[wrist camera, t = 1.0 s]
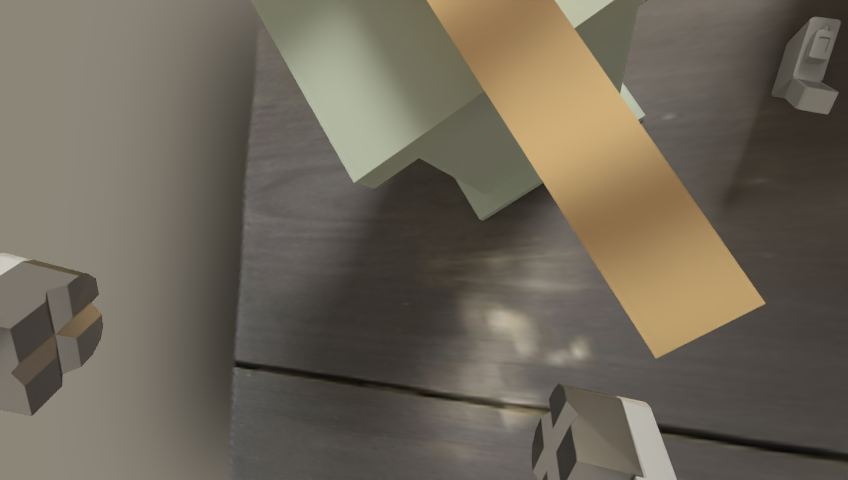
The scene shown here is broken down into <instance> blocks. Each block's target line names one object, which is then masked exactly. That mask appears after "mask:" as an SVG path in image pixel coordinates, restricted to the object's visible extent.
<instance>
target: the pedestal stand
mask: <svg viewBox="0 0 848 480" xmlns="http://www.w3.org/2000/svg"><path fill="white" fill-rule="evenodd" d="M251 1H252V3H253V5H254V7H255V9H256V10H257V12H258V14H259V16H260V17H261V19H262V21H263V23H264V25H265V26H266V28H267V30H268V32H269V33H270V35H271V37H272V39H273V41H274V42H275V44H276V46H277V48H278V49H279V51H280V53H281V55H282V56H283V58H284V60H285V62H286V64H287V65H288V67H289V69H290V71H291V72H292V74H293V76H294V78H295V80H296V81H297V83H298V85H299V87H300V88H301V90H302V92H303V94H304V96H305V97H306V99H307V101H308V103H309V104H310V106H311V108H312V110H313V111H314V113H315V115H316V117H317V119H318V120H319V122H320V124H321V126H322V127H323V129H324V131H325V133H326V135H327V136H328V138H329V140H330V142H331V143H332V145H333V147H334V149H335V151H336V152H337V154H338V156H339V158H340V159H341V161H342V163H343V165H344V166H345V168H346V170H347V172H348V174H349V175H350V177H351V179H352V181H353V182H354V183H356V184H359V185H363V186H366V187H369V188H373V189H375V188H376V187H378V186H379V185H381V184H382V183H383V182H385V181H386V180H388V179H389V178H391V177H392V176H394V175H395V174H397V173H398V172H399V171H401V170H402V169H404V168H405V167H407V166H408V165H410V164H411V163H412V162H414V161H415V160H417V159H418V158H420V159H422V160H423V161H425V162H427V163H429V164H431V165H432V166H434V167H436V168H438V169H440V170H442V171H443V172H445V173H447V174H449V175H451V176H452V177H454V178H455V180H456V181H457V183H458V185H459V186H460V188H461V190H462V191H463V193H464V194H465V196H466V198H467V199H468V201H469V203H470V204H471V206H472V208H473V209H474V211H475V213H476V214H477V216H478V218H479V219H480V220H482V221H484V220H485V219H487V218H489V217H490V216H492V215H493V214H495V213H496V212H498V211H500V210H501V209H503V208H504V207H506V206H508V205H509V204H511V203H512V202H514V201H516V200H517V199H519V198H520V197H522V196H523V195H525V194H527V193H528V192H530V191H531V190H533V189H535V188H536V187H538V186H539V185H541V184H543V181H542V180H541V178H540V177H539V175H538V173H537V172H536V170H535V169H534V167H533V166H532V164H531V163H530V161H529V159H528V158H527V156H526V155H525V153H524V152H523V150H522V148H521V147H520V145H519V144H518V142H517V141H516V139H515V138H514V136H513V134H512V133H511V131H510V130H509V128H508V127H507V125H506V123H505V122H504V120H503V119H502V117H501V116H500V114H499V113H498V111H497V109H496V108H495V106H494V105H493V103H492V102H491V100H490V98H489V97H488V95H487V94H486V92H485V91H484V89H483V88H482V86H481V84H480V83H479V81H478V80H477V78H476V77H475V75H474V73H473V72H472V70H471V69H470V67H469V66H468V64H467V63H466V61H465V59H464V58H463V56H462V55H461V53H460V52H459V50H458V49H457V47H456V45H455V44H454V42H453V41H452V39H451V38H450V36H449V34H448V33H447V31H446V30H445V28H444V27H443V25H442V24H441V22H440V20H439V19H438V17H437V16H436V14H435V13H434V11H433V9H432V8H431V6H430V5H429V3H428V2H427V0H251ZM555 1H556V3H557V4H558V6H559V7H560V9H561V10H562V12H563V13H564V14H565V16H566V17H567V19H568V20H569V22H570V23H571V24H572V26H573V27H574V29H575V30H576V32H577V33H578V35H579V36H580V37H581V39H582V40H583V42H584V43H585V45H586V46H587V47H588V49H589V50H590V52H591V53H592V55H593V56H594V58H595V59H596V60H597V62H598V63H599V65H600V66H601V68H602V69H603V70H604V72H605V73H606V75H607V76H608V78H609V79H610V81H611V82H612V83H613V85H614V86H615V88H616V89H617V91H618V92H619V93H620V95H621V96H622V98H623V99H624V101H625V102H626V104H627V105H628V106H629V108H630V109H631V111H632V112H633V114H634V115H635V116H636V118H637V119H638V121H639V122H641V121H643V120H644V117H645V114H644V113H643V111H642V110H641V108H640V107H639V105H638V104H637V103H636V101H635V100H634V98H633V97H632V95H631V94H630V93H629V91H628V90H627V88H626V87H625V85H624V84H623V83H622V82H623V77H624V73H625V68H626V63H627V58H628V53H629V48H630V43H631V39H632V34H633V29H634V24H635V19H636V14H637V10H638V7H639V6H640V5H642V4H643V3H644V2H646V1H647V0H555Z"/></svg>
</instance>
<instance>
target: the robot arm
mask: <svg viewBox="0 0 848 480" xmlns="http://www.w3.org/2000/svg"><path fill="white" fill-rule="evenodd" d="M98 295H99V293H98V287H97V282H96V278H94V277H92V276H91V275H89V274H87V273H82V272H79V271H75V270H71V269H67V268H63V267H60V266H55V265H52V264H48V263H44V262H40V261H36V260H29V259H26V258H22V257H18V256H14V255H11V254H7V253H1V254H0V410H4V411H9V412H14V413H19V414H24V415H29V416H32V415H33V414H34V413H35V412H36V411H37V410H38V409H39V408H40V407H41V406H43V404H44V403H46V402H47V400H49V398H50V397H52V396H53V394H54V393H56V391H57V390H59V389H60V388H61V387H62V376H63V374H64V373H66V372H69V371H72V370H74V369H77V368H79V367H81V366H82V365H83V364H84V363H85V362H86V361H87V360H88V359H89V358H90V356H92V355H93V353H94V351H95V349H96V347H97V345H98V343H99V341H100V339H101V335H102V329H103V322H102V315H101V313H100V312H99V311H98V310H97V309H96V307H95V306H94V305H93V304H92V301H93V300H94V299H95V298H96V297H97V296H98ZM549 402H550V410H551V412H549V413H548V414H546V415H544V416H542V417H541V418H540V421H539V423H538V426H537V428H536V431H535V435H534V440H533V445H532V469H533V473H534V474H535V476H536V477H537V478H538V480H677V478H676V475H675V473H674V470H673V467H672V465H671V462H670V459H669V456H668V454H667V451H666V448H665V446H664V443H663V440H662V437H661V435H660V432H659V429H658V426H657V424H656V421H655V418H654V416H653V413H652V410H651V408H650V406H649V405H648V404H647V403H646V402H643V401H638V400H633V399H628V398H624V397H619V396H616V397H615V396H612V395H608V394H603V393H599V392H594V391H590V390H586V389H581V388H577V387H572V386H568V385H563V384H558V385H557V386H556V387H555V388H554V390H553V392H552V394H551V396H550V398H549Z"/></svg>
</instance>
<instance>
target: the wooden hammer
mask: <svg viewBox="0 0 848 480" xmlns="http://www.w3.org/2000/svg"><path fill="white" fill-rule="evenodd" d="M427 2H428V3H429V5H430V6H431V8H432V9H433V11H434V13H435V14H436V16H437V17H438V19H439V20H440V22H441V24H442V25H443V27H444V28H445V30H446V31H447V33H448V34H449V36H450V38H451V39H452V41H453V42H454V44H455V45H456V47H457V49H458V50H459V52H460V53H461V55H462V56H463V58H464V59H465V61H466V63H467V64H468V66H469V67H470V69H471V70H472V72H473V73H474V75H475V77H476V78H477V80H478V81H479V83H480V84H481V86H482V88H483V89H484V91H485V92H486V94H487V95H488V97H489V98H490V100H491V102H492V103H493V105H494V106H495V108H496V109H497V111H498V113H499V114H500V116H501V117H502V119H503V120H504V122H505V123H506V125H507V127H508V128H509V130H510V131H511V133H512V134H513V136H514V138H515V139H516V141H517V142H518V144H519V145H520V147H521V148H522V150H523V152H524V153H525V155H526V156H527V158H528V159H529V161H530V163H531V164H532V166H533V167H534V169H535V170H536V172H537V173H538V175H539V177H540V178H541V180H542V181H543V183H544V184H545V186H546V188H547V189H548V191H549V192H550V194H551V195H552V197H553V198H554V200H555V202H556V203H557V205H558V206H559V208H560V209H561V211H562V213H563V214H564V216H565V217H566V219H567V220H568V222H569V223H570V225H571V227H572V228H573V230H574V231H575V233H576V234H577V236H578V238H579V239H580V241H581V242H582V244H583V245H584V247H585V248H586V250H587V252H588V253H589V255H590V256H591V258H592V259H593V261H594V263H595V264H596V266H597V267H598V269H599V270H600V272H601V273H602V275H603V277H604V278H605V280H606V281H607V283H608V284H609V286H610V288H611V289H612V291H613V292H614V294H615V295H616V297H617V298H618V300H619V302H620V303H621V305H622V306H623V308H624V309H625V311H626V313H627V314H628V316H629V317H630V319H631V320H632V322H633V323H634V325H635V327H636V328H637V330H638V331H639V333H640V334H641V336H642V338H643V339H644V341H645V342H646V344H647V345H648V347H649V348H650V350H651V352H652V353H653V355H654V356H655V358H656V359H657V358H659V357H661V356H662V355H664V354H666V353H668V352H670V351H672V350H674V349H676V348H678V347H680V346H682V345H684V344H686V343H688V342H690V341H692V340H694V339H696V338H698V337H700V336H702V335H704V334H706V333H708V332H710V331H712V330H714V329H716V328H718V327H720V326H722V325H724V324H726V323H728V322H730V321H732V320H734V319H736V318H738V317H740V316H742V315H744V314H746V313H748V312H750V311H752V310H754V309H756V308H758V307H760V306H762V305H764V304H766V303H765V302H764V300H763V299H762V298H761V296H760V295H759V293H758V292H757V290H756V289H755V288H754V286H753V285H752V283H751V282H750V280H749V279H748V277H747V276H746V275H745V273H744V272H743V270H742V269H741V267H740V266H739V265H738V263H737V262H736V260H735V259H734V257H733V256H732V254H731V253H730V252H729V250H728V249H727V247H726V246H725V244H724V243H723V242H722V240H721V239H720V237H719V236H718V234H717V233H716V231H715V230H714V229H713V227H712V226H711V224H710V223H709V221H708V220H707V219H706V217H705V216H704V214H703V213H702V211H701V210H700V208H699V207H698V206H697V204H696V203H695V201H694V200H693V198H692V197H691V196H690V194H689V193H688V191H687V190H686V188H685V187H684V185H683V184H682V183H681V181H680V180H679V178H678V177H677V175H676V174H675V173H674V171H673V170H672V168H671V167H670V165H669V164H668V162H667V161H666V160H665V158H664V157H663V155H662V154H661V152H660V151H659V150H658V148H657V147H656V145H655V144H654V142H653V141H652V139H651V138H650V137H649V135H648V134H647V132H646V131H645V129H644V128H643V127H642V125H641V124H640V122H639V121H638V119H637V118H636V116H635V115H634V114H633V112H632V111H631V109H630V108H629V106H628V105H627V104H626V102H625V101H624V99H623V98H622V96H621V95H620V93H619V92H618V91H617V89H616V88H615V86H614V85H613V83H612V82H611V81H610V79H609V78H608V76H607V75H606V73H605V72H604V70H603V69H602V68H601V66H600V65H599V63H598V62H597V60H596V59H595V58H594V56H593V55H592V53H591V52H590V50H589V49H588V47H587V46H586V45H585V43H584V42H583V40H582V39H581V37H580V36H579V35H578V33H577V32H576V30H575V29H574V27H573V26H572V24H571V23H570V22H569V20H568V19H567V17H566V16H565V14H564V13H563V12H562V10H561V9H560V7H559V6H558V4H557V3H556V1H555V0H427Z"/></svg>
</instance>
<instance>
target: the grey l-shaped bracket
mask: <svg viewBox="0 0 848 480" xmlns="http://www.w3.org/2000/svg"><path fill="white" fill-rule="evenodd" d="M840 24H841V22H840V21H839V20H838V19H830V18H822V17H813V18H811V19H810V20H809V21H808V22H807V23H806V24H805V25H804V26H803V27H802V28H801V29H800V30H799V31H798V32H797V33H796V34H795V36H794V37H793V38H792V39H791V40H790V41H789V42H788V43H787V44H786V48H785V51H784V54H783V57H782V60H781V64H780V67H779V70H778V73H777V77H776V80H775V83H774V86H773V89H772V93H771V94H772V96H773V97H778V98H784V99H786V100H787V101H788V102H789V103H790V104H791V105H793V106H794V107H795V108H796V109H799V110H804V111H810V112H816V113H822V114H829V112H830V110H831V108H832V106H833V104H834V102H835V100H836V98H837V95H838V93H839V92H838V91H836V90H835V89H833V88H831V87H829V86H828V85H826V84H824V83H822V82H821V81H822V80H823V78H824V75H825V71H826V68H827V65H828V62H829V59H830V56H831V53H832V49H833V46H834V43H835V40H836V37H837V34H838V30H839V27H840Z"/></svg>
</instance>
